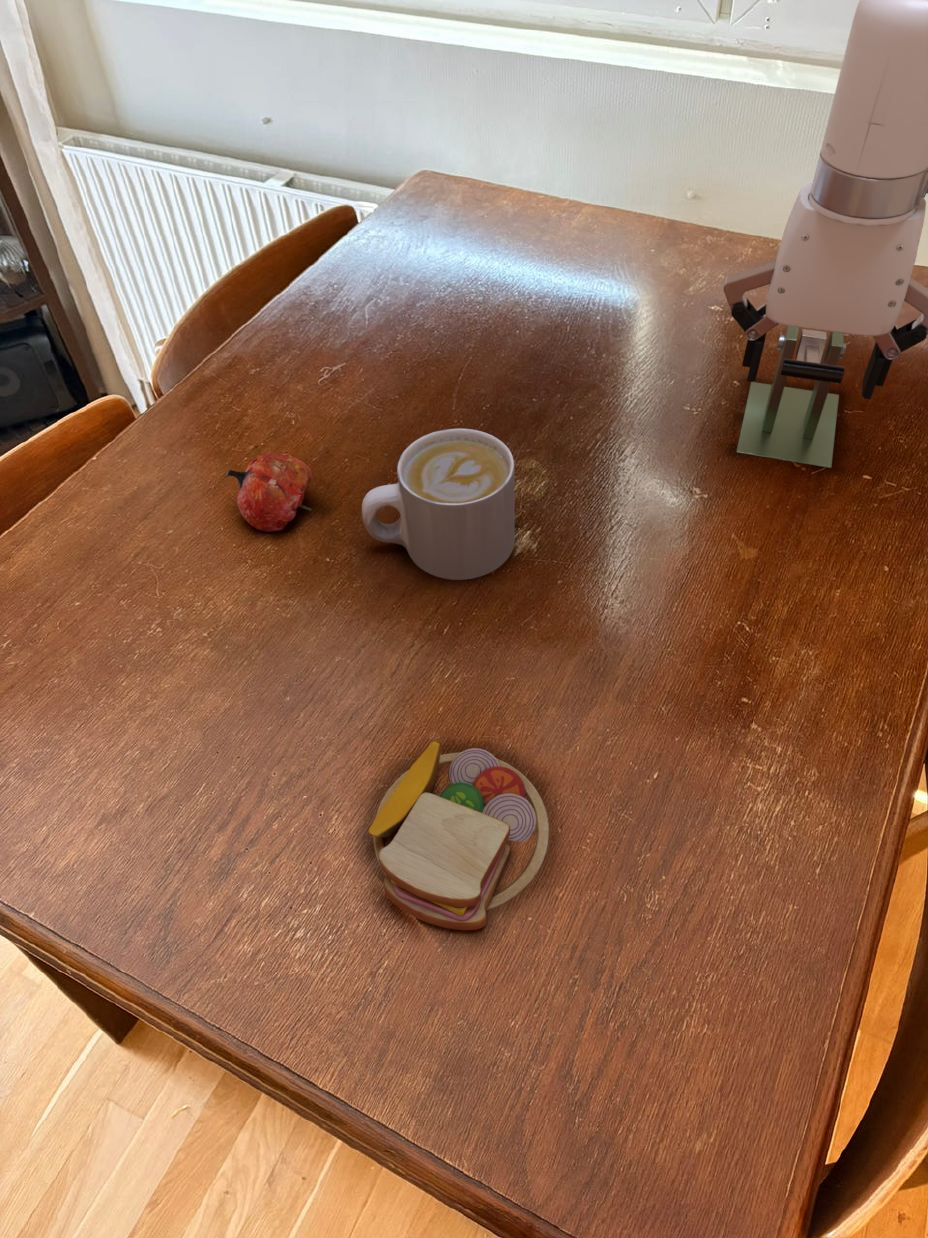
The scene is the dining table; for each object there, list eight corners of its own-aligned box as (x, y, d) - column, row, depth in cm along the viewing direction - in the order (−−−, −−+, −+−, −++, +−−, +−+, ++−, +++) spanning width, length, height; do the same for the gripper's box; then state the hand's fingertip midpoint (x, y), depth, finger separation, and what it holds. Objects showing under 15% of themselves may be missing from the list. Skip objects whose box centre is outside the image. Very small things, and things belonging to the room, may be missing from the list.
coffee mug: (516, 512, 86) (516, 428, 78) (512, 589, 80) (512, 506, 72) (378, 509, 87) (365, 427, 79) (364, 585, 81) (348, 503, 73)
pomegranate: (319, 506, 91) (229, 456, 87) (352, 471, 86) (257, 416, 82) (298, 563, 87) (203, 514, 83) (330, 531, 82) (230, 476, 78)
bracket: (828, 476, 87) (864, 373, 78) (734, 461, 89) (758, 358, 80) (836, 403, 94) (869, 301, 85) (748, 390, 97) (773, 289, 88)
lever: (838, 391, 76) (846, 363, 75) (778, 382, 78) (785, 354, 76) (834, 359, 85) (842, 333, 84) (780, 351, 87) (787, 326, 85)
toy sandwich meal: (579, 809, 66) (583, 777, 62) (481, 969, 58) (479, 942, 55) (438, 734, 70) (433, 699, 67) (331, 873, 63) (320, 843, 60)
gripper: (994, 171, 65) (914, 371, 78) (751, 149, 69) (714, 343, 83) (999, 219, 61) (913, 423, 74) (739, 193, 65) (701, 391, 78)
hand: (808, 381), depth 78 cm, fingers open, 9 cm apart
